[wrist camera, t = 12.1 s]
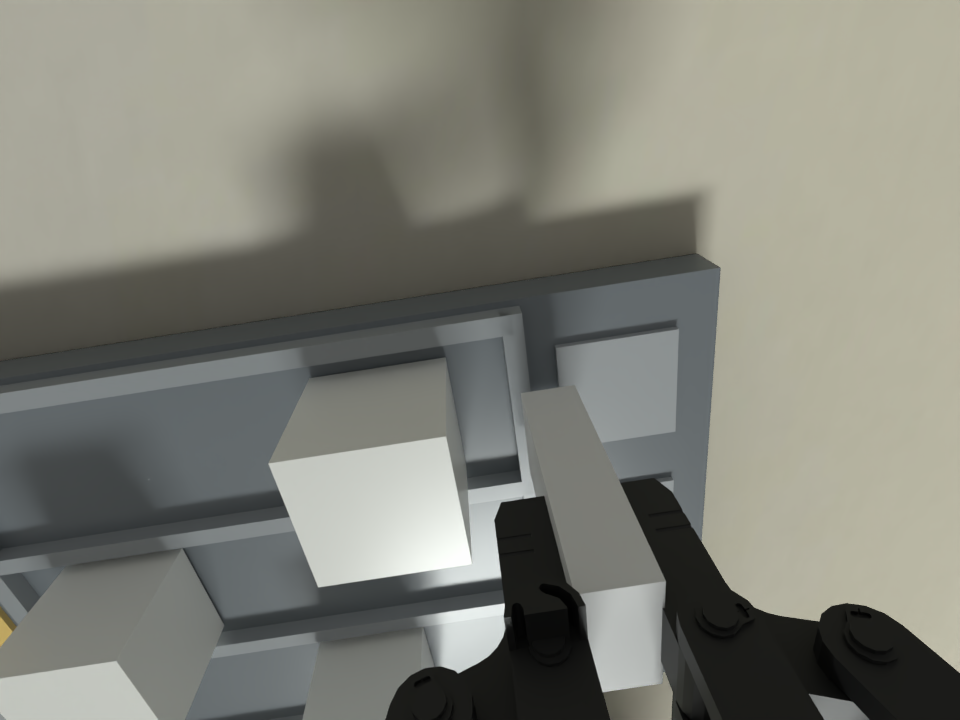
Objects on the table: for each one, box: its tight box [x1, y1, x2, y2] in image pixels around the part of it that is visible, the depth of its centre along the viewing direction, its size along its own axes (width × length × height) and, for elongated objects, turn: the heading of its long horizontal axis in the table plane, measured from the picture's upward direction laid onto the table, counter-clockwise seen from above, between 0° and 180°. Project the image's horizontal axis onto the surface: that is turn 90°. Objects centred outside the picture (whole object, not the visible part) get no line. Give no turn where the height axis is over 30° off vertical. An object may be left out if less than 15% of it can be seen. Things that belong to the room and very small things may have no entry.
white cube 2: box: [0, 548, 224, 720], centre depth 17 cm, size 4×4×4 cm
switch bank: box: [0, 254, 720, 720], centre depth 19 cm, size 30×18×2 cm, turn 98°
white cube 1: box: [302, 627, 434, 720], centre depth 19 cm, size 4×4×4 cm
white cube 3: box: [268, 357, 472, 587], centre depth 14 cm, size 4×4×4 cm
